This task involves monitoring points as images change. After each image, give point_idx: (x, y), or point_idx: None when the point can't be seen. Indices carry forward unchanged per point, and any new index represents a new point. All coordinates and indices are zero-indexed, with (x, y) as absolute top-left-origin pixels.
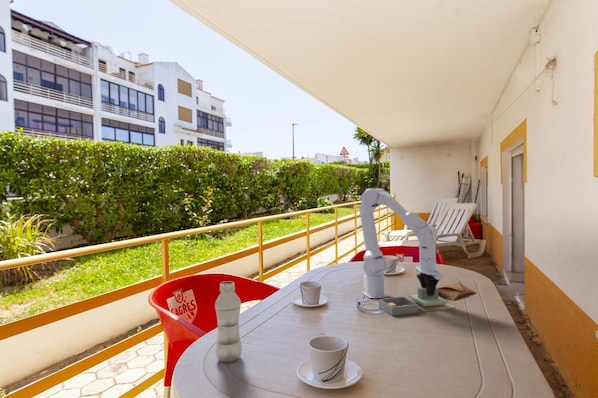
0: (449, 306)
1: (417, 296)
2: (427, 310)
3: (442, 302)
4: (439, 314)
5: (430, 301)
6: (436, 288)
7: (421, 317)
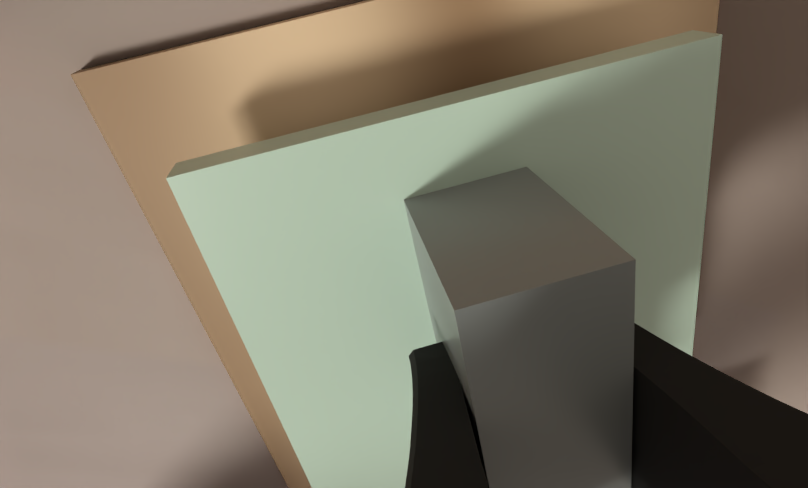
0: (653, 1)
1: (400, 445)
2: None
3: (699, 155)
4: (792, 234)
5: (659, 334)
6: (611, 302)
7: (775, 397)
